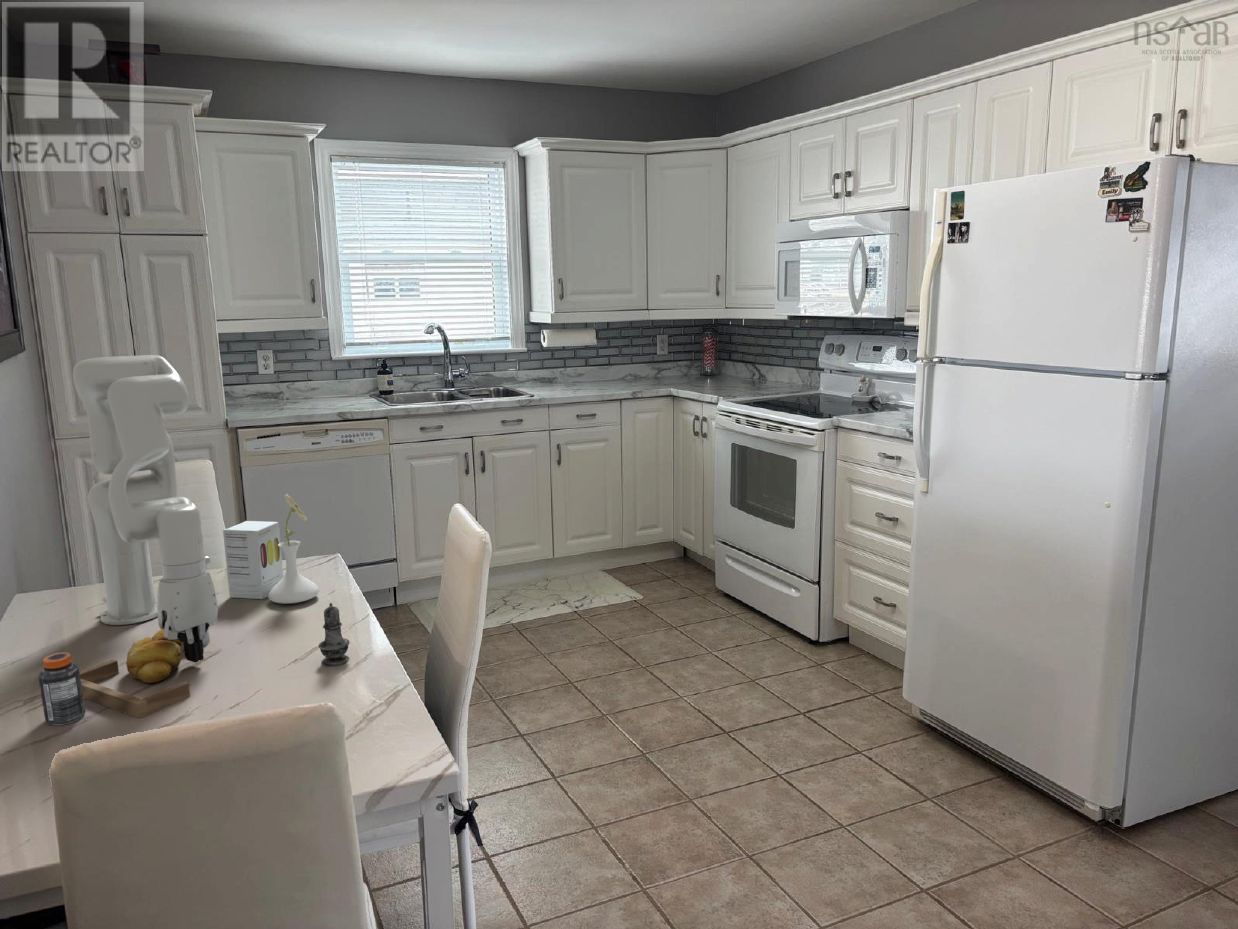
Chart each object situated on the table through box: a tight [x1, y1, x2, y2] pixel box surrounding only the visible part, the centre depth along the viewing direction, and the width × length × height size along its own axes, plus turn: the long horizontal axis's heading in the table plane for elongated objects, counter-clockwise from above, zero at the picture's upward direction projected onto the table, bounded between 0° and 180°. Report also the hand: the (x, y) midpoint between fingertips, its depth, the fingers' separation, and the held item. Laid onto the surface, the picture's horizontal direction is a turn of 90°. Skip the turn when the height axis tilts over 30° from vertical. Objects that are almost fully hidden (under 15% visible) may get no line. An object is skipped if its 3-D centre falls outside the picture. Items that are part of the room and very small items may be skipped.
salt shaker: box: [317, 602, 350, 667], centre depth 174 cm, size 6×6×12 cm
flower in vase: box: [267, 493, 320, 605], centre depth 209 cm, size 13×11×25 cm
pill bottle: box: [38, 651, 86, 726], centre depth 152 cm, size 6×6×11 cm
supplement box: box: [222, 520, 284, 600], centre depth 215 cm, size 10×9×17 cm
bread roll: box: [125, 629, 182, 684], centre depth 170 cm, size 13×10×8 cm
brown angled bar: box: [79, 659, 191, 719], centre depth 162 cm, size 23×10×2 cm, turn 60°
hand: (194, 659), depth 174 cm, fingers closed
